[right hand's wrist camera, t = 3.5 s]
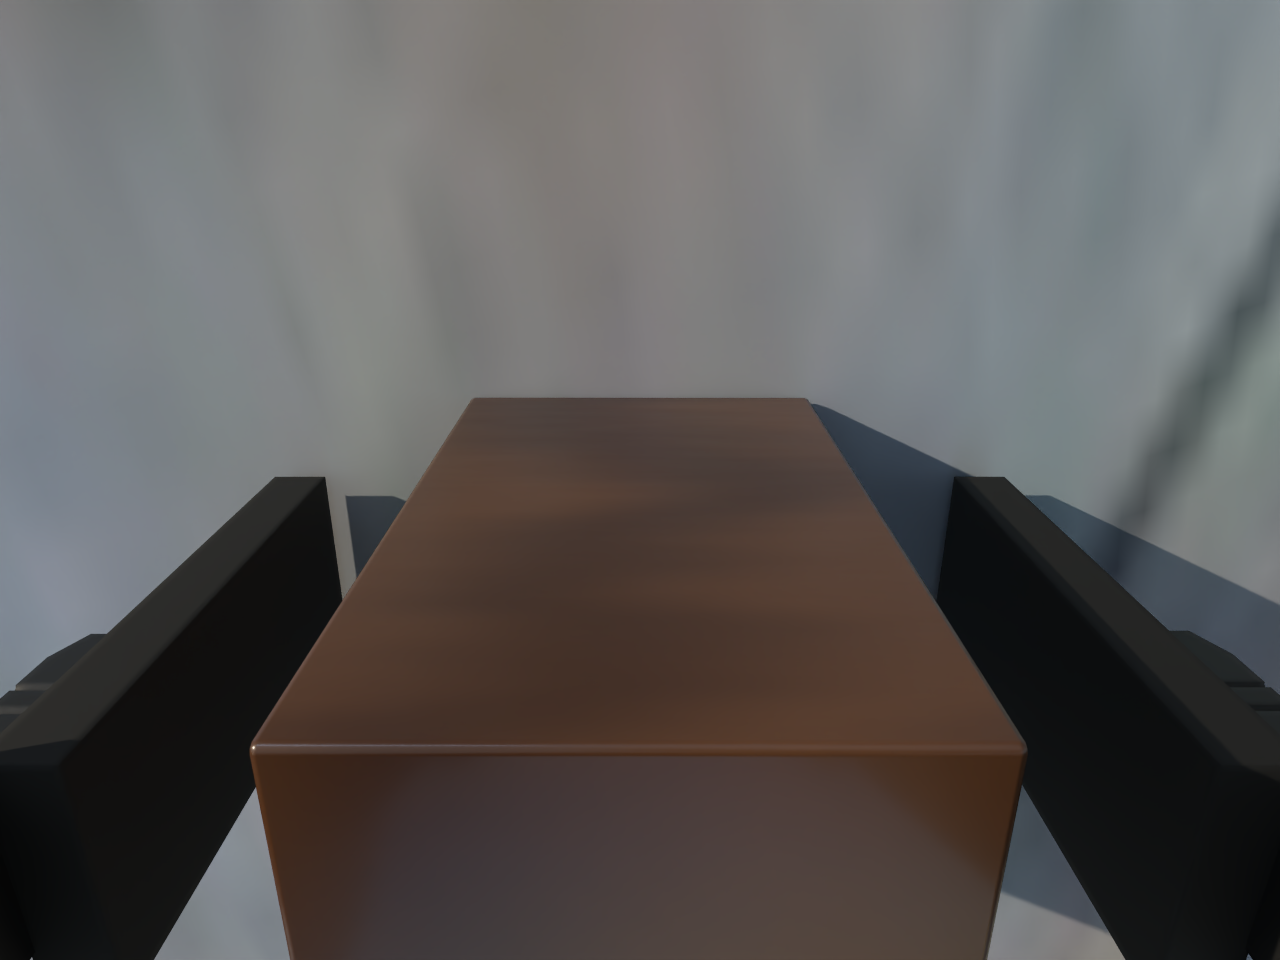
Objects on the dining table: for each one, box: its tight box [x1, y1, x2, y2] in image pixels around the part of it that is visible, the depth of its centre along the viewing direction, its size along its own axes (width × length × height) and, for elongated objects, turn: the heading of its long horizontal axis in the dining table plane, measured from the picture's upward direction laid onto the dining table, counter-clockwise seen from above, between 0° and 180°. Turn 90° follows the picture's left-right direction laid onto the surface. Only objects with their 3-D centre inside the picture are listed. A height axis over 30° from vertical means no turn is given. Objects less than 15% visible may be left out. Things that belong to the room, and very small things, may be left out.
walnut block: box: [250, 398, 1028, 960], centre depth 10 cm, size 5×5×8 cm
